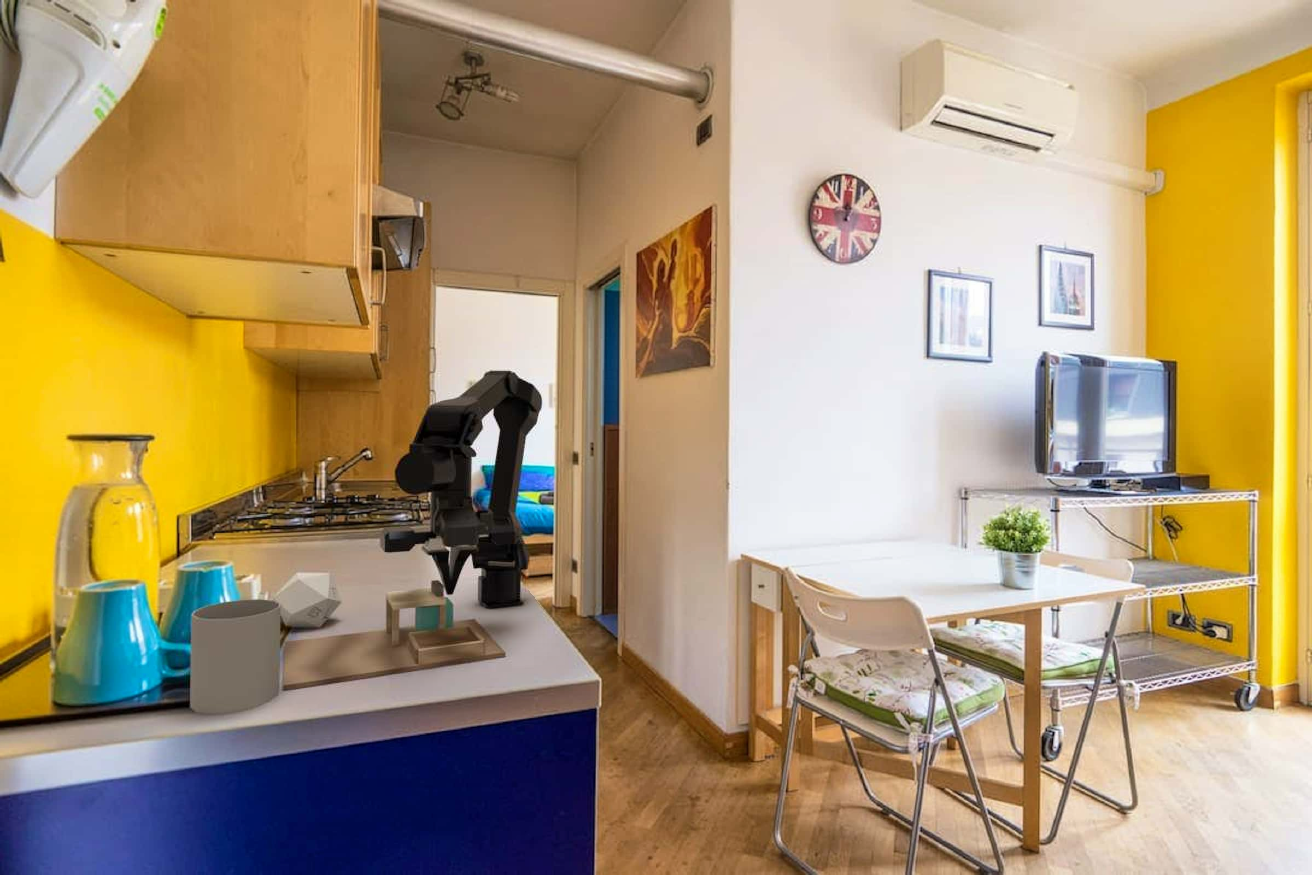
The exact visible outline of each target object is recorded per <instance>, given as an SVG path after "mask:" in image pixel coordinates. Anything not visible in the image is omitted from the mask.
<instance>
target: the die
mask: <svg viewBox="0 0 1312 875" xmlns="http://www.w3.org/2000/svg"><path fill="white" fill-rule="evenodd" d="M272 599H273V600H274V601H276V602H279V603H281V612H280V618H282V621H283V623H284V626H285V625H291V626H292V627H291V628H321V627H322V626H323V624H324V623H325V622H326V621H327V620H328V619H329V618H330V617H331V615H332V614H333V613H334V612H335V611H336V610H337V608H338V607H339V606H340V605H341V604H342V603H343V602H342V601H343V600H342V598H341V596H340V594H339V592H338V590H337V587H336V584H335V582H334V580H333V577H332V575H331V572H296V573H295V574H294V575H293V576H292V577H291V578H290V579H289V580H288V581H287V582H286V583H285V584H284V585H283V586H282V587H281V588H280V589H279V590H278V592H276V593H275V594H274V595H273V597H272Z"/></svg>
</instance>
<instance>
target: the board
mask: <svg viewBox="0 0 1312 875" xmlns="http://www.w3.org/2000/svg"><path fill="white" fill-rule="evenodd" d="M283 654H284V656H283V682H282V687H283V688H282V691H283V692H284V691H289V690H296V689H303V688H308V687H309V688H310V687H316V686H322V685H328V684H329V685H330V684H335V683H341V682H342V683H343V682H348V681H355V680H361V679H367V678H368V679H369V678H374V677H375V678H376V677H381V676H388V675H394V674H401V673H406V672H407V673H408V672H412V671H413V672H414V671H418V670H419V671H420V670H426V669H432V668H440V667H445V666H446V667H447V666H452V665H460V664H466V663H472V662H478V661H479V662H481V661H484V660H485V661H486V660H492V659H497V658H499V659H500V658H505V657H506V651H505V650H504V649H503V647H501V645H499V644H498V642H497V641H496V640H495V639H494V638H493V637H492V636H491V635H490V634H489V633H488V632H487V631H486V630H485V628H484V627H482V625H480V623H479V622H478V621H477V620H476V619H475V618H469V619H463V620H462V619H461V620H455V621H454V620H453V627H449V628H441V629H434V630H426V631H418V632H416V631H415V625H413V626H406V627H399V645H398V646H392V632H386V629H379V630H373V631H372V630H371V631H362V632H357V633H356V632H355V633H347V634H339V635H331V636H323V637H322V636H321V637H314V638H306V639H296V640H290V641H284V653H283Z"/></svg>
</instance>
